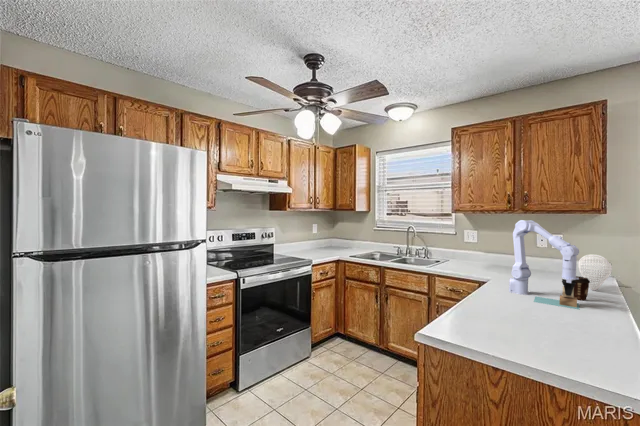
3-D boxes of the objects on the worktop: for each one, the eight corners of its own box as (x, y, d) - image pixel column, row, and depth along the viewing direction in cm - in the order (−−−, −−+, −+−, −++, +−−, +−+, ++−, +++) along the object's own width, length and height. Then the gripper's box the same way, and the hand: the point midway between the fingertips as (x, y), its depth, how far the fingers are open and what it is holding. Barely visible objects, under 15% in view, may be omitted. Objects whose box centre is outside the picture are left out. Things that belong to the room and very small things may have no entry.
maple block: (562, 296, 162) (562, 287, 162) (562, 294, 166) (562, 286, 166) (573, 297, 160) (573, 289, 160) (573, 296, 163) (573, 287, 163)
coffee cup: (584, 299, 176) (585, 276, 176) (593, 303, 168) (593, 279, 168) (566, 297, 179) (567, 275, 179) (573, 301, 171) (574, 278, 171)
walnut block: (559, 304, 162) (559, 297, 162) (559, 301, 168) (559, 295, 168) (576, 307, 158) (577, 300, 158) (576, 304, 163) (576, 297, 163)
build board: (533, 303, 166) (533, 301, 166) (535, 297, 177) (535, 296, 177) (579, 311, 154) (579, 309, 154) (578, 304, 165) (578, 303, 165)
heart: (611, 297, 182) (613, 259, 182) (577, 292, 192) (578, 256, 192) (608, 288, 204) (609, 254, 203) (577, 284, 214) (578, 252, 213)
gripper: (579, 271, 154) (578, 298, 155) (578, 267, 166) (577, 293, 166) (561, 269, 159) (560, 296, 159) (562, 265, 170) (561, 290, 170)
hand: (568, 294), depth 163 cm, fingers closed on maple block, 4 cm apart
